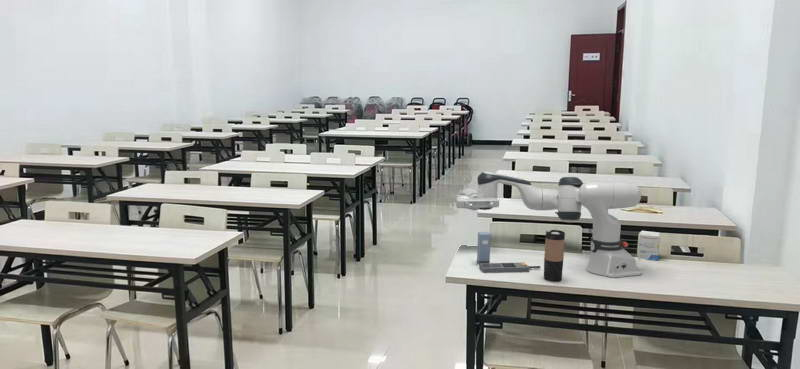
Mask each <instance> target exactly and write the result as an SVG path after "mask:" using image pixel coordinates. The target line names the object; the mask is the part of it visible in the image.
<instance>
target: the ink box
mask: <svg viewBox="0 0 800 369" xmlns="http://www.w3.org/2000/svg"><path fill="white" fill-rule="evenodd" d="M660 240H661V232H657V231H647V230H641V231H640V233H639V242H638V244H639V245H638V259H640V260H649V261H659V254H660V244H661V241H660Z"/></svg>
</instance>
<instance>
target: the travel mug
mask: <svg viewBox="0 0 800 369" xmlns="http://www.w3.org/2000/svg"><path fill="white" fill-rule="evenodd" d="M565 236H566V232H565V231H563V230H558V229H551V230H548V231H547V230H546V231H545V244H544V256H543V279H544V280H545V281H548V282H551V283H557V282H561V281H562V277H563V268H564V260H565V259H564V257H565V238H566V237H565Z"/></svg>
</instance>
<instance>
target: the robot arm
mask: <svg viewBox="0 0 800 369" xmlns="http://www.w3.org/2000/svg"><path fill="white" fill-rule="evenodd" d="M558 181H559V182H558V189H554V188H547V187H544V188H543V187H537V186H534V185H533V184H532V183H531V181H529V180H525V179H523V178H518V177H514V176H509V175H504V174H503V175H502V174H498V173H495V172H493V171H489V170H488V171H487V170H486V171H482V172H481V173H480V174H479V175H478V176H477V190H476V189H474V188H471V187H465V188H463V189H462V190H461V192H460V193H459V194H456V199H455V208H457V209H467V210H471V211H477V210H478V211H479V210H483V211H486V210H491V209H493V208H499V207H500V200H499V199H498V189H499V188H498V187H499V184H501V185H502V184H503V185H508V186H511V187H512V186H513V187H515V188H516V189H517V190H518V192H519V194H520V197H521V199H522V202H523V204H524V205H525V207H526V208H527V209H529V210H532V211H554V210H557V211H556V212H554V214H555V215H557V217H558V218H559V219H560V220H561V221H564V222H565V223H575V222H577V221H579V220H580V219H581V216H582V212H581V211H582V206H583V207H584V208H585V209H587V210H588V212H589V213H590V216H591V219H592V236H591V238H590V254H589V258H588V259H589V260H588V262H587V265H586V268H585V269H586V270H587V271H588V272H590V273H591V274H596V275H600V276H605V277H609V278H623V277H624V278H625V277H632V276H633V277H634V276H641V275H642V270H641V269H640V268H638V267H637V262H636V259H635V257H634V256H633V255H631V254H630V253H629V252H628V251H627V250H626V249H624V247H625V248H627V247H629V243H628V242H626V241H623V240H621V229H622V228H621V225H622V224H621V221H620V220H619V219H618V218H617V217H616V216H613V215H612V214H609V210H612V209H613V210H614V209H615V210H616V209H626V208H628V209H629V208H633V207H636V206H637V205H638V204H639V203H640V202H641V199H642V192H641V189H640V188H639V186H638V185H637V184H636V183H635V184H634V183H630V182H626V181H590V182H583V181H582V179H580V178H579V177H577V176H574V175H566V176H564V177H563V176H562V177H561V178H560V179H559V180H558Z"/></svg>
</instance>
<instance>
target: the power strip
mask: <svg viewBox="0 0 800 369" xmlns="http://www.w3.org/2000/svg"><path fill="white" fill-rule="evenodd" d="M478 266H479V267H478V268H479V269H480V271H481V273H482V274H487V273H489V274H490V273H491V274H492V273H493V274H495V273H498V274H499V273H502V274H503V273H529V271H530V269H541V266H540V265H527V263H526V262H525V261H524V262H523V261H522V262H489V263H479V265H478Z"/></svg>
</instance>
